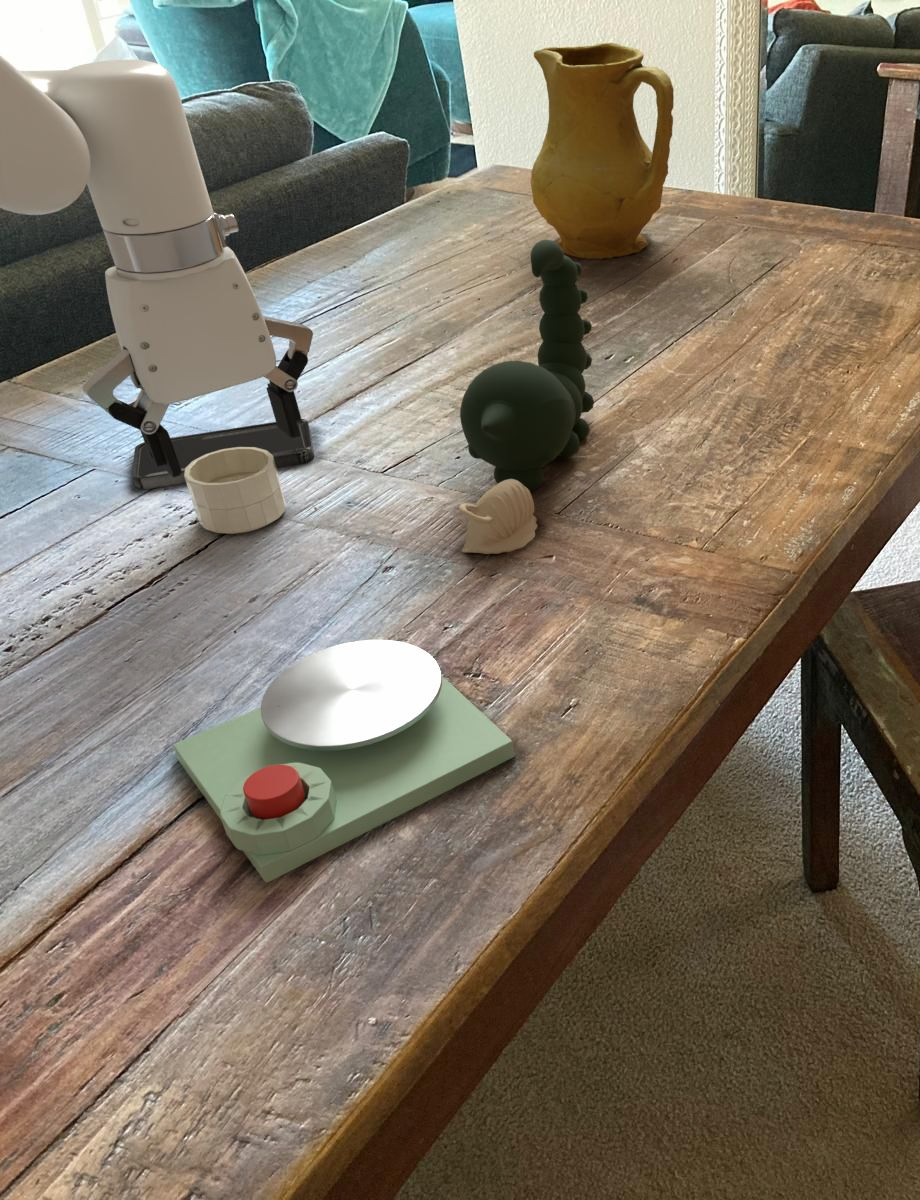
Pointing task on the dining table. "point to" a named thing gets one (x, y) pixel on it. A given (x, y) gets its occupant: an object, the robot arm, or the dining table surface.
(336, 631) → the dining table surface
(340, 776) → the scale
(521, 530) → the decorative ornament
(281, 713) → the scale pan
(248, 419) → the dining table surface
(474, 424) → the toy figurine
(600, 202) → the pitcher
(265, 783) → the tare button
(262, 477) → the bowl
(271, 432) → the phone
